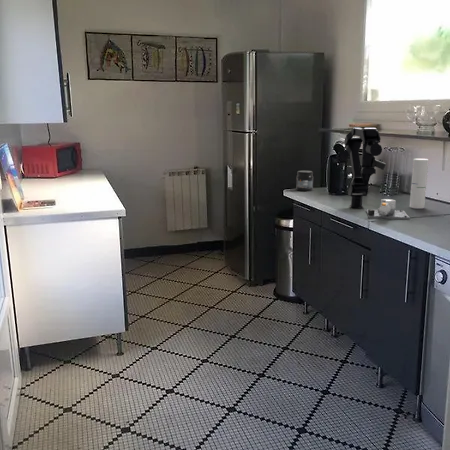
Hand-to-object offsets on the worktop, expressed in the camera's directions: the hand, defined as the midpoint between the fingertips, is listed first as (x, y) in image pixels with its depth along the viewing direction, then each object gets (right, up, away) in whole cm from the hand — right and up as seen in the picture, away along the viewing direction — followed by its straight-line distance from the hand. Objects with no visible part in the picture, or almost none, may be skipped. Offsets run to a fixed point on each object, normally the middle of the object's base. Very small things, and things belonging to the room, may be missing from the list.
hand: (366, 186), depth 239 cm
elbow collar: (+7, -14, -9) cm, 18 cm away
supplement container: (-19, +3, +70) cm, 73 cm away
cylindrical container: (+31, -10, +15) cm, 36 cm away
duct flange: (+9, -14, -5) cm, 17 cm away
